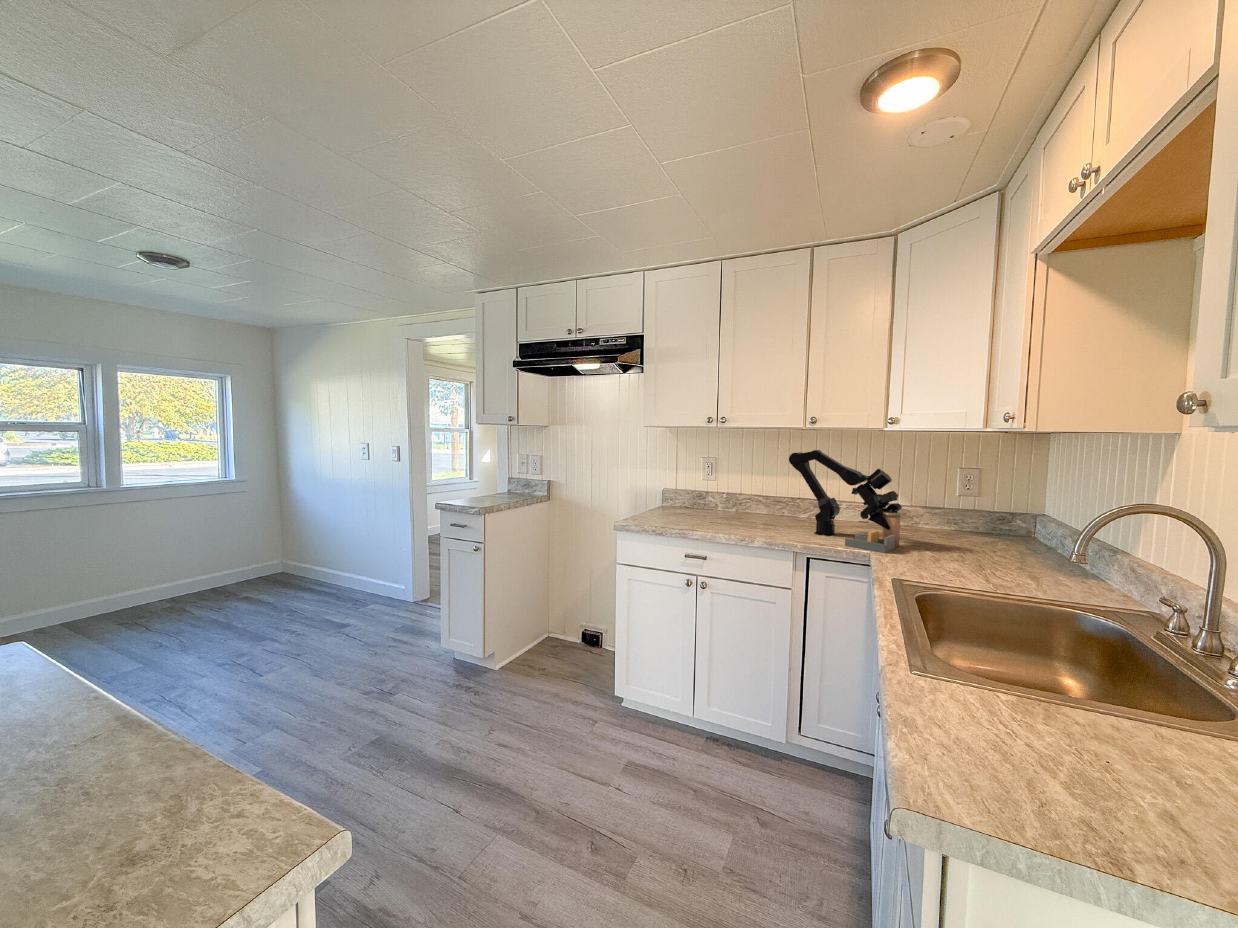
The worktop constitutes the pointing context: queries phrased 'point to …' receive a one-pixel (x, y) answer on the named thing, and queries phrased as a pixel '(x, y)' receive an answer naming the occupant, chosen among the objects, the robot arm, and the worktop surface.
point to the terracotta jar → (892, 526)
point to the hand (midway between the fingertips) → (894, 528)
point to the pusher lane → (881, 546)
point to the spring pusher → (873, 536)
